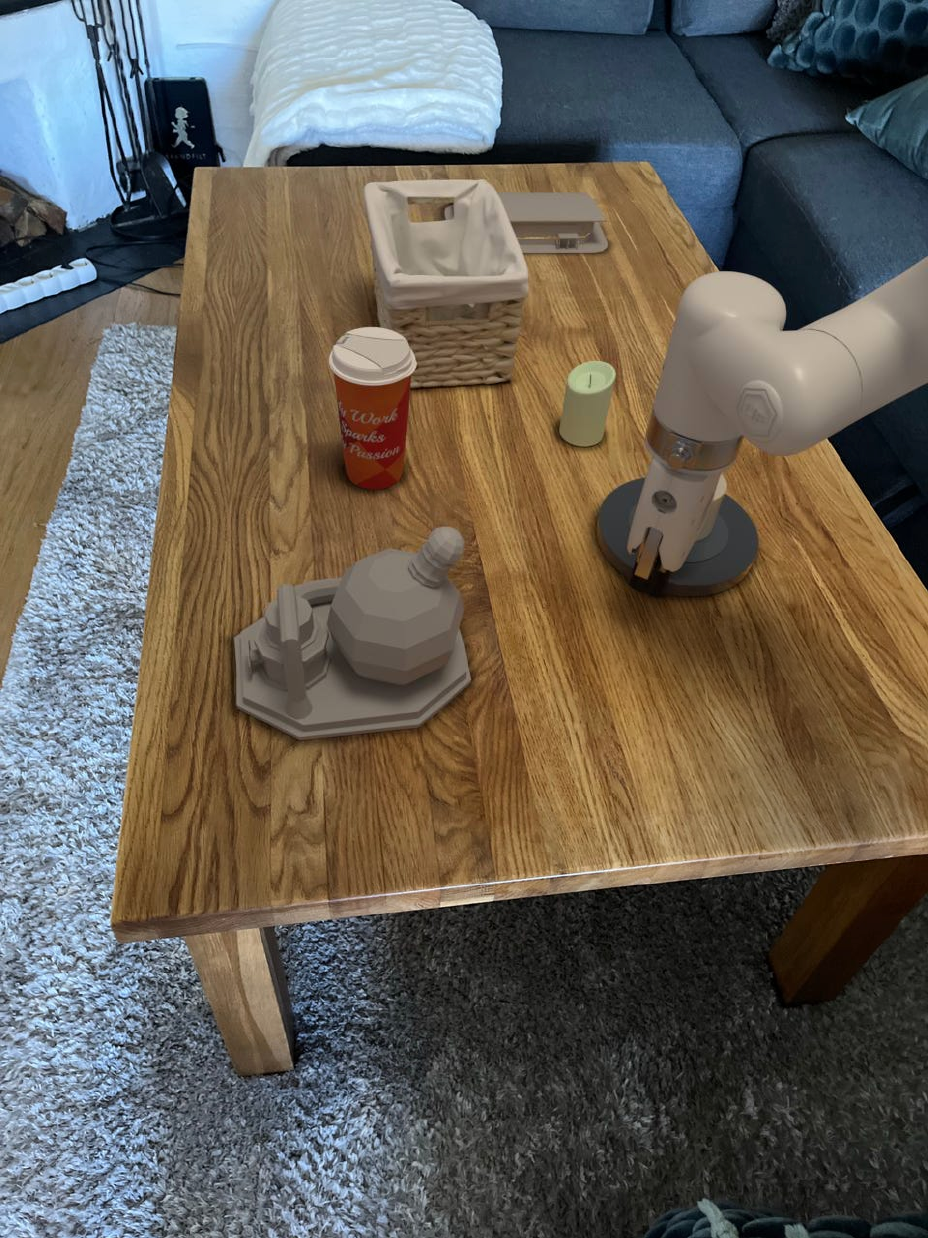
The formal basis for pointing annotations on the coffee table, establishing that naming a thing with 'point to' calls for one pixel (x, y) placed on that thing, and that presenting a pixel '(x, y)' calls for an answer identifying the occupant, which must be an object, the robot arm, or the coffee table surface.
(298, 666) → the grey faceted model
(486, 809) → the coffee table surface
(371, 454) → the coffee cup
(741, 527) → the plate
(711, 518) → the short beige cylinder
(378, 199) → the basket
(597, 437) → the candle
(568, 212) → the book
